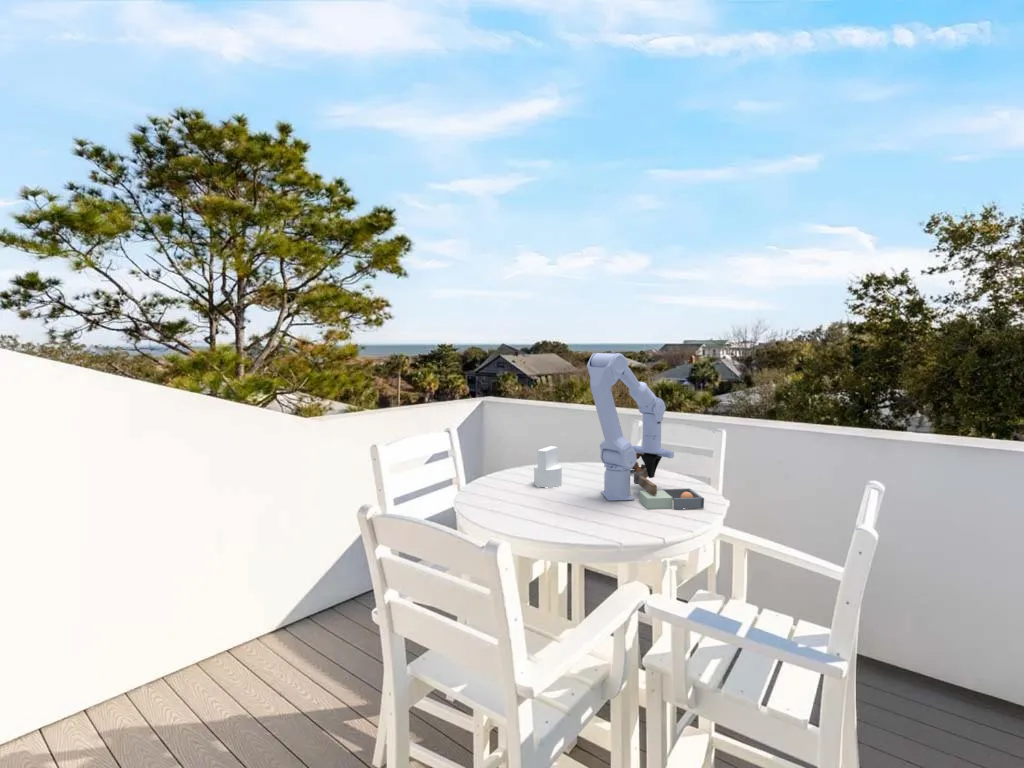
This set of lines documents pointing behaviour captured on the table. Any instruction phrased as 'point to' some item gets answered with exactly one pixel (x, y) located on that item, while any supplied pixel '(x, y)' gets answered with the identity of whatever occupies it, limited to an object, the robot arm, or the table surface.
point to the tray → (685, 499)
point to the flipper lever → (645, 481)
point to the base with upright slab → (548, 468)
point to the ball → (686, 495)
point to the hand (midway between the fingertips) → (651, 477)
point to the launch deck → (656, 499)
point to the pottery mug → (638, 465)
